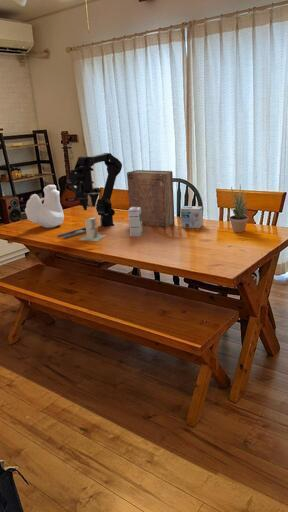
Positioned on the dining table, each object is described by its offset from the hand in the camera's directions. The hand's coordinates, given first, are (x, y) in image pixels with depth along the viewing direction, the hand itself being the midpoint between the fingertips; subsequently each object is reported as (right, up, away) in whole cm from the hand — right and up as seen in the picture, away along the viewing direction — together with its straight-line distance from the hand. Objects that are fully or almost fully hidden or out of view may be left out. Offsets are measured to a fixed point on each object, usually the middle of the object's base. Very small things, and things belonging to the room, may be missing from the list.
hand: (89, 208), depth 226 cm
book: (+35, -8, +11) cm, 38 cm away
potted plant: (+79, -14, -15) cm, 82 cm away
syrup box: (+26, -15, -9) cm, 32 cm away
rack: (-8, -15, -1) cm, 16 cm away
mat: (+3, -17, -10) cm, 20 cm away
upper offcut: (-6, -14, +1) cm, 15 cm away
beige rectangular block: (+3, -16, -10) cm, 19 cm away
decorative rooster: (-29, -9, +20) cm, 36 cm away
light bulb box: (+57, -10, 0) cm, 58 cm away
